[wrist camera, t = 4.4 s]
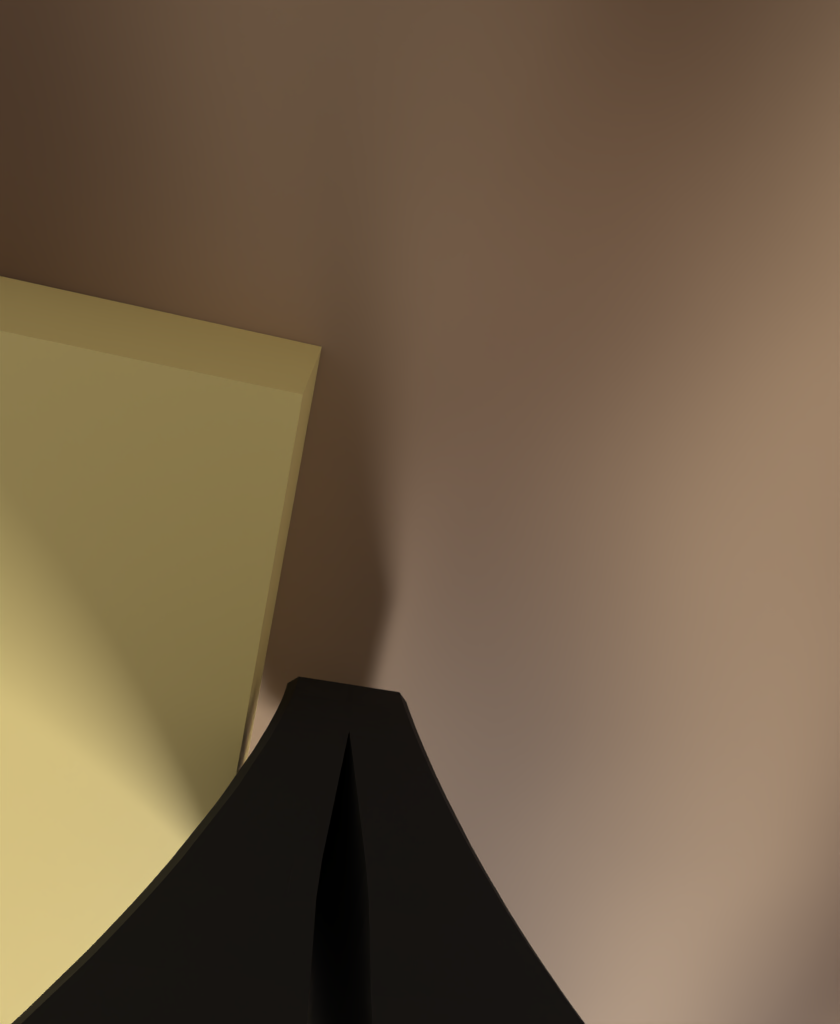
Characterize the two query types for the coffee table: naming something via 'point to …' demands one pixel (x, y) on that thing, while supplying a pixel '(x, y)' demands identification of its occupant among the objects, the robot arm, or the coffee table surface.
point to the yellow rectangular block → (127, 597)
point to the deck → (520, 418)
